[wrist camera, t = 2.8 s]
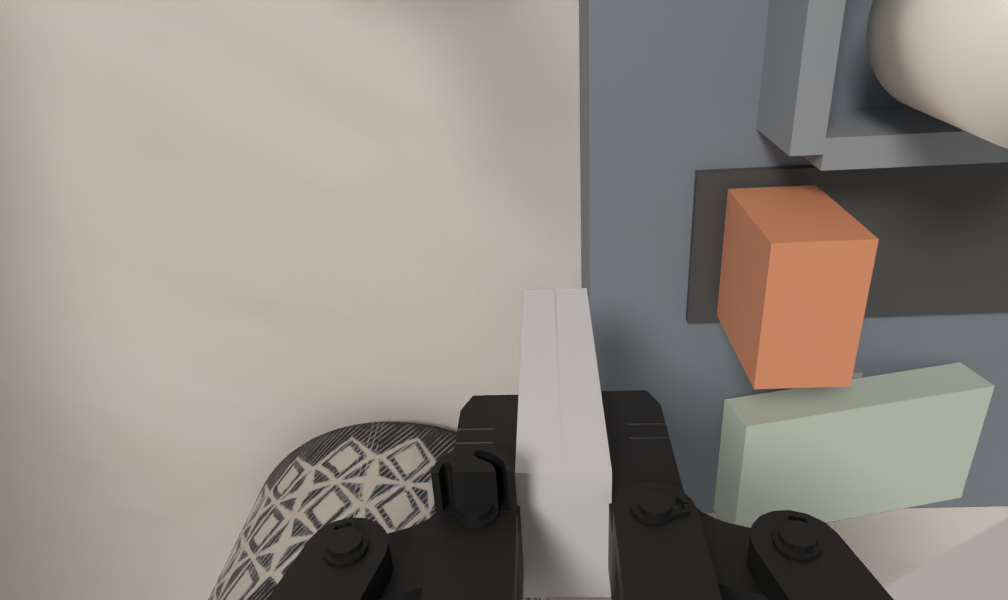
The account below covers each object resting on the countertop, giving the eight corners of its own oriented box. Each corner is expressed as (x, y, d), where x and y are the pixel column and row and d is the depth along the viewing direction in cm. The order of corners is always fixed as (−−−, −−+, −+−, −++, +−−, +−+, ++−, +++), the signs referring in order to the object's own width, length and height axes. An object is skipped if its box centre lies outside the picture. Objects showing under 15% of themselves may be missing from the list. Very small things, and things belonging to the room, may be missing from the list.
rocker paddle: (713, 509, 24) (733, 539, 22) (724, 399, 22) (746, 426, 20) (931, 470, 25) (960, 497, 24) (960, 362, 23) (994, 386, 22)
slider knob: (716, 315, 22) (753, 389, 18) (727, 188, 20) (771, 243, 16) (797, 312, 22) (850, 386, 18) (815, 184, 20) (879, 238, 16)
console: (583, 446, 30) (597, 575, 24) (574, -480, 17) (599, -708, 11) (978, 435, 29) (1097, 566, 23) (1272, -546, 16) (1709, -831, 10)
